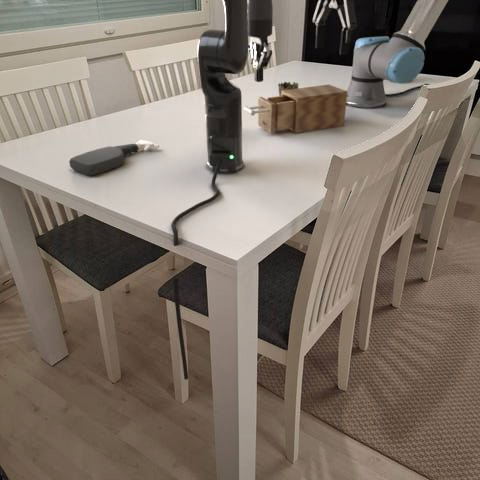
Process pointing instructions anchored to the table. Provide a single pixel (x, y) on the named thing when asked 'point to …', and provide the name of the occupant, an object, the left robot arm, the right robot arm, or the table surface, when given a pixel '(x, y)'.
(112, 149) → the spray bottle
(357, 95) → the right robot arm
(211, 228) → the table surface
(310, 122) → the cabinet
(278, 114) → the drawer
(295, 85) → the cup
